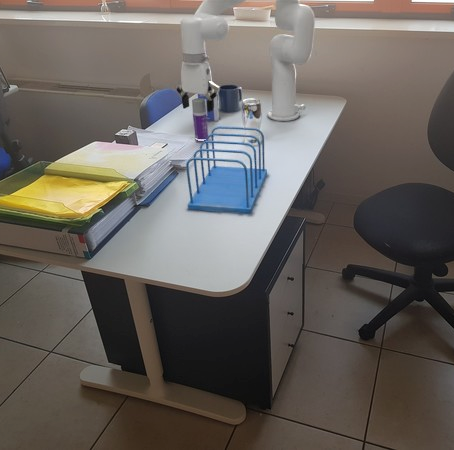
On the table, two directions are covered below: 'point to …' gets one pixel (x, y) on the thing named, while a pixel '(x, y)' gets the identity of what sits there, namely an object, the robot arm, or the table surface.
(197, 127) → the container
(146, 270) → the table surface
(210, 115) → the blue white carton
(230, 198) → the file sorter
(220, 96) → the coffee mug
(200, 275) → the table surface
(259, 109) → the beer glass
